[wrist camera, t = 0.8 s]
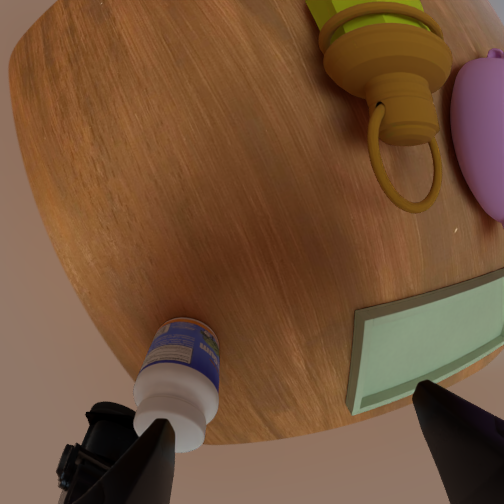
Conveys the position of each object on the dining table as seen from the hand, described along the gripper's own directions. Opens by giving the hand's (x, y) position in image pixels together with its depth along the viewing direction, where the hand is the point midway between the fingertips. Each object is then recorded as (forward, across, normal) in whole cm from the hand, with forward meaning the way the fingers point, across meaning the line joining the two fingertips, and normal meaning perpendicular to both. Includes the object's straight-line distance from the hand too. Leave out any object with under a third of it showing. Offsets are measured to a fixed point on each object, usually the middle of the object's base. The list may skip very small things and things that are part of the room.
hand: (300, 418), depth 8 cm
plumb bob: (+15, -9, -16) cm, 24 cm away
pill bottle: (+12, +7, +5) cm, 15 cm away
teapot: (+16, -26, -10) cm, 32 cm away
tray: (+14, -21, +10) cm, 27 cm away
